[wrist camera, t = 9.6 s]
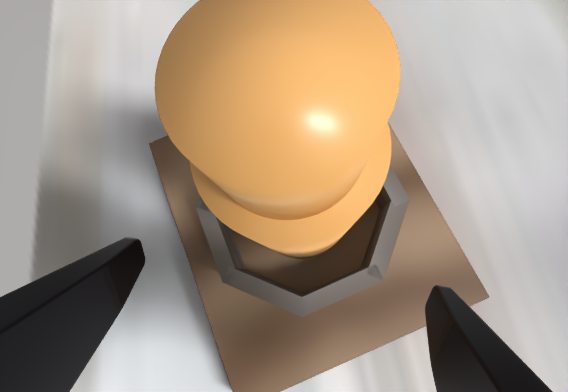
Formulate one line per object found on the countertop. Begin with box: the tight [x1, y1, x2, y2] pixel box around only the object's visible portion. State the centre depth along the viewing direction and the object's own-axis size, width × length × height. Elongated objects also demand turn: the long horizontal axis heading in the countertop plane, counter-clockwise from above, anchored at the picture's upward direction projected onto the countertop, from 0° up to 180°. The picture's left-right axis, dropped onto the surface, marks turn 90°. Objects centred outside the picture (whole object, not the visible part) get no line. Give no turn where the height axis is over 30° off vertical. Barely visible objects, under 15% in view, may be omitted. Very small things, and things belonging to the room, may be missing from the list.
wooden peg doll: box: [155, 0, 400, 259], centre depth 11 cm, size 5×5×13 cm
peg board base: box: [149, 123, 489, 392], centre depth 17 cm, size 16×14×4 cm
